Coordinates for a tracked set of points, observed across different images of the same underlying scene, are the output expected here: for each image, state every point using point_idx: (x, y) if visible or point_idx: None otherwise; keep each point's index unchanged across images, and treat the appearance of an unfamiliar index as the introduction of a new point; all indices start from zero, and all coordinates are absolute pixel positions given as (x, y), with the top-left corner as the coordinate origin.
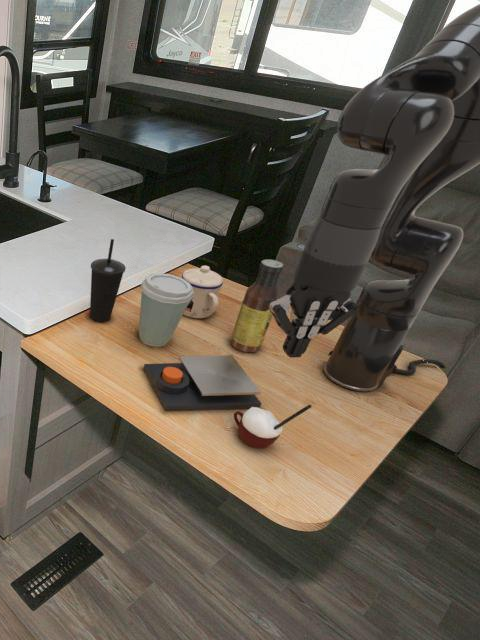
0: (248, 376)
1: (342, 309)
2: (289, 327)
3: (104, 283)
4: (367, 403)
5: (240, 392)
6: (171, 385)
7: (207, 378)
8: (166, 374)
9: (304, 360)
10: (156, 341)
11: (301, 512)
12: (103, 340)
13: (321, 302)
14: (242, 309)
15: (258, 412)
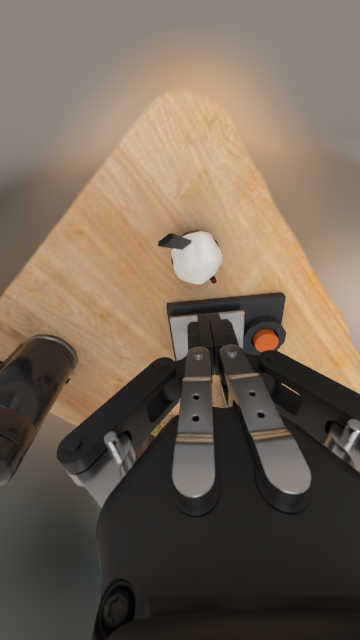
0: (174, 342)
1: (120, 442)
2: (288, 370)
3: None
4: (41, 318)
5: (195, 316)
6: (272, 325)
7: None
8: (277, 339)
9: (92, 374)
10: None
11: (184, 105)
12: (294, 392)
13: (232, 478)
14: (158, 433)
15: (206, 267)
